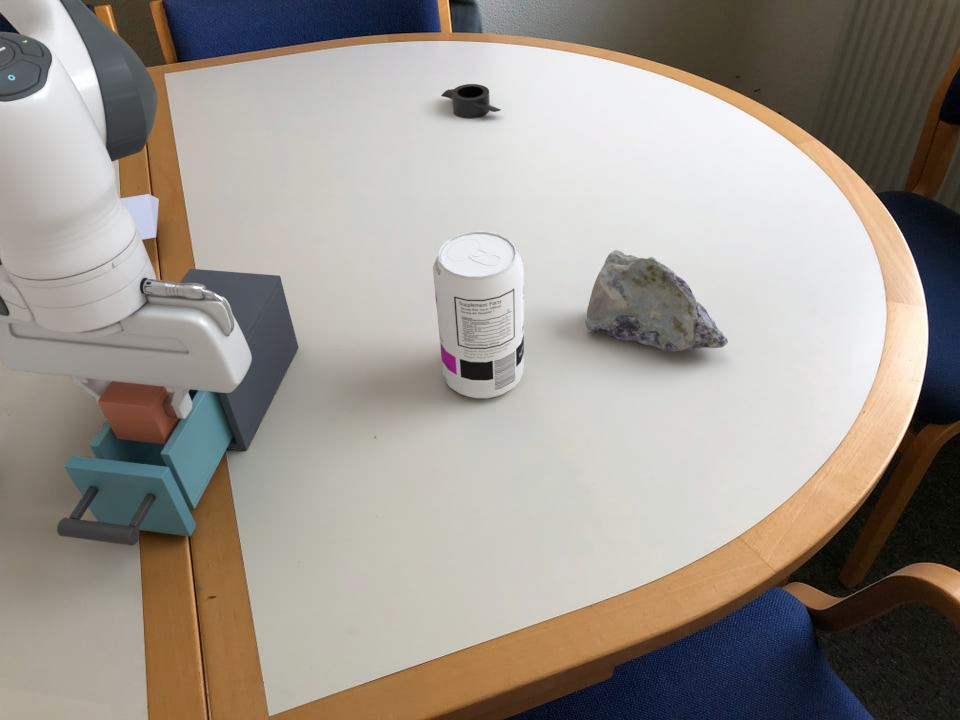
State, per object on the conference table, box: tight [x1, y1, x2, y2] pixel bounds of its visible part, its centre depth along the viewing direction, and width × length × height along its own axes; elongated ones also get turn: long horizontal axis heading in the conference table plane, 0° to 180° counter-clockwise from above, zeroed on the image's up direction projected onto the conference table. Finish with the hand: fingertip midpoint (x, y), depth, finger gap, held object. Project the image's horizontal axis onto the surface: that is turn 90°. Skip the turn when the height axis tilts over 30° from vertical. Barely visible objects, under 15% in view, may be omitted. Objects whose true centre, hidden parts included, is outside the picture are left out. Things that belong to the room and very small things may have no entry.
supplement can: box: [432, 230, 525, 400], centre depth 76 cm, size 8×8×15 cm
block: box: [97, 381, 181, 444], centre depth 66 cm, size 4×4×4 cm
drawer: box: [56, 389, 234, 546], centre depth 68 cm, size 18×8×8 cm, turn 170°
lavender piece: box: [119, 193, 160, 241], centre depth 97 cm, size 9×7×13 cm
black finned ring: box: [440, 83, 502, 119], centre depth 124 cm, size 8×10×3 cm
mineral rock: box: [585, 249, 729, 352], centre depth 80 cm, size 13×11×10 cm
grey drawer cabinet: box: [179, 268, 299, 451], centre depth 77 cm, size 15×10×10 cm, turn 170°
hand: (147, 408), depth 66 cm, fingers closed on block, 4 cm apart
